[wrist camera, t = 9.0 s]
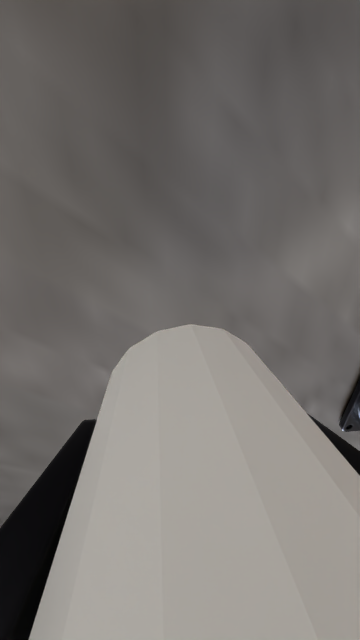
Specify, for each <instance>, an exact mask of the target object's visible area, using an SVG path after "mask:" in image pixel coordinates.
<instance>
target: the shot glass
mask: <svg viewBox="0 0 360 640" xmlns="http://www.w3.org/2000/svg"><path fill="white" fill-rule="evenodd" d="M29 640H360V475H359V474H358V473H357V472H356V471H355V470H354V468H353V467H352V466H351V465H350V464H349V463H348V461H347V460H346V459H345V458H344V457H343V455H342V454H341V453H340V452H339V451H338V450H337V448H336V447H335V446H334V445H333V444H332V443H331V441H330V440H329V439H328V438H327V437H326V436H325V434H324V433H323V432H322V431H321V430H320V428H319V427H318V426H317V425H316V424H315V423H314V421H313V420H312V419H311V418H310V417H309V416H308V414H307V413H306V412H305V411H304V410H303V408H302V407H301V406H300V405H299V404H298V403H297V401H296V400H295V399H294V398H293V397H292V396H291V394H290V393H289V392H288V391H287V390H286V389H285V387H284V386H283V385H282V384H281V383H280V381H279V380H278V379H277V378H276V377H275V376H274V374H273V373H272V372H271V371H270V370H269V369H268V367H267V366H266V365H265V364H264V363H263V361H262V360H261V359H260V358H259V357H258V356H257V354H256V353H255V352H254V351H253V350H252V349H251V347H250V346H249V345H248V344H247V343H246V342H244V341H242V340H241V339H239V338H237V337H236V336H234V335H232V334H231V333H229V332H227V331H226V330H224V329H221V328H214V327H207V326H200V325H193V324H189V325H184V326H180V327H175V328H170V329H165V330H161V331H156V332H155V333H153V334H152V335H150V336H148V337H147V338H145V339H143V340H142V341H140V342H139V343H137V344H135V345H134V346H132V347H130V348H129V349H128V350H127V352H126V353H125V354H124V356H123V357H122V359H121V360H120V361H119V363H118V364H117V366H116V367H115V368H114V370H113V371H112V373H111V377H110V380H109V383H108V386H107V390H106V393H105V396H104V399H103V402H102V406H101V409H100V412H99V415H98V418H97V422H96V425H95V428H94V431H93V434H92V438H91V441H90V444H89V447H88V450H87V454H86V457H85V460H84V463H83V467H82V470H81V473H80V476H79V479H78V483H77V486H76V489H75V492H74V495H73V499H72V502H71V505H70V508H69V511H68V515H67V518H66V521H65V524H64V528H63V531H62V534H61V537H60V540H59V544H58V547H57V550H56V553H55V556H54V560H53V563H52V566H51V569H50V572H49V576H48V579H47V582H46V585H45V588H44V592H43V595H42V598H41V601H40V605H39V608H38V611H37V614H36V617H35V621H34V624H33V627H32V630H31V633H30V637H29Z"/></svg>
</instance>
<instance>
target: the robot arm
mask: <svg viewBox="0 0 360 640" xmlns="http://www.w3.org/2000/svg"><path fill="white" fill-rule="evenodd" d="M308 416H309V417H310V418H311V419H312V420H313V421H314V423H315V424H316V425H317V426H318V427H319V428H320V430H321V431H322V432H323V433H324V434H325V436H326V437H327V438H328V439H329V440H330V441H331V443H332V444H333V445H334V446H335V447H336V448H337V450H338V451H339V452H340V453H341V454H342V455H343V457H344V458H345V459H346V460H347V461H348V463H349V464H350V465H351V466H352V467H353V468H354V470H355V471H356V472H357V473H358V474H359V475H360V451H359V450H357V449H356V448H354V447H353V446H352V445H350V444H349V443H347V442H346V441H345V440H343V439H342V438H341V437H339V436H338V435H336V434H335V433H334V432H332V431H331V430H329V429H328V428H327V427H325V426H324V425H323V424H321V423H320V422H318V421H317V420H316V419H314V418H313V417H311V416H310V415H309V414H308ZM96 422H97V420H95V419H92V420H84V421H83V422H82V423H81V424H80V425H79V426H78V428H77V429H76V430H75V432H74V433H73V434H72V436H71V437H70V438H69V439H68V441H67V442H66V443H65V445H64V446H63V447H62V449H61V450H60V451H59V452H58V454H57V455H56V456H55V458H54V459H53V460H52V462H51V463H50V464H49V465H48V467H47V468H46V469H45V471H44V472H43V473H42V475H41V476H40V477H39V478H38V480H37V481H36V482H35V484H34V485H33V486H32V488H31V489H30V490H29V491H28V493H27V494H26V495H25V497H24V498H23V499H22V501H21V502H20V503H19V504H18V506H17V507H16V508H15V510H14V511H13V512H12V514H11V515H10V516H9V517H8V519H7V520H6V521H5V523H4V524H3V525H2V527H1V528H0V640H29V637H30V633H31V630H32V627H33V624H34V621H35V617H36V614H37V611H38V608H39V605H40V601H41V598H42V595H43V592H44V588H45V585H46V582H47V579H48V576H49V572H50V569H51V566H52V563H53V560H54V556H55V553H56V550H57V547H58V544H59V540H60V537H61V534H62V531H63V528H64V524H65V521H66V518H67V515H68V511H69V508H70V505H71V502H72V499H73V495H74V492H75V489H76V486H77V483H78V479H79V476H80V473H81V470H82V467H83V463H84V460H85V457H86V454H87V450H88V447H89V444H90V441H91V438H92V434H93V431H94V428H95V425H96ZM339 426H340V427H341V428H342V430H343V431H345V432H349V431H360V380H359V382H358V384H357V386H356V388H355V391H354V393H353V395H352V397H351V399H350V402H349V404H348V406H347V408H346V410H345V412H344V415H343V417H342V419H341V421H340V423H339Z"/></svg>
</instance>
